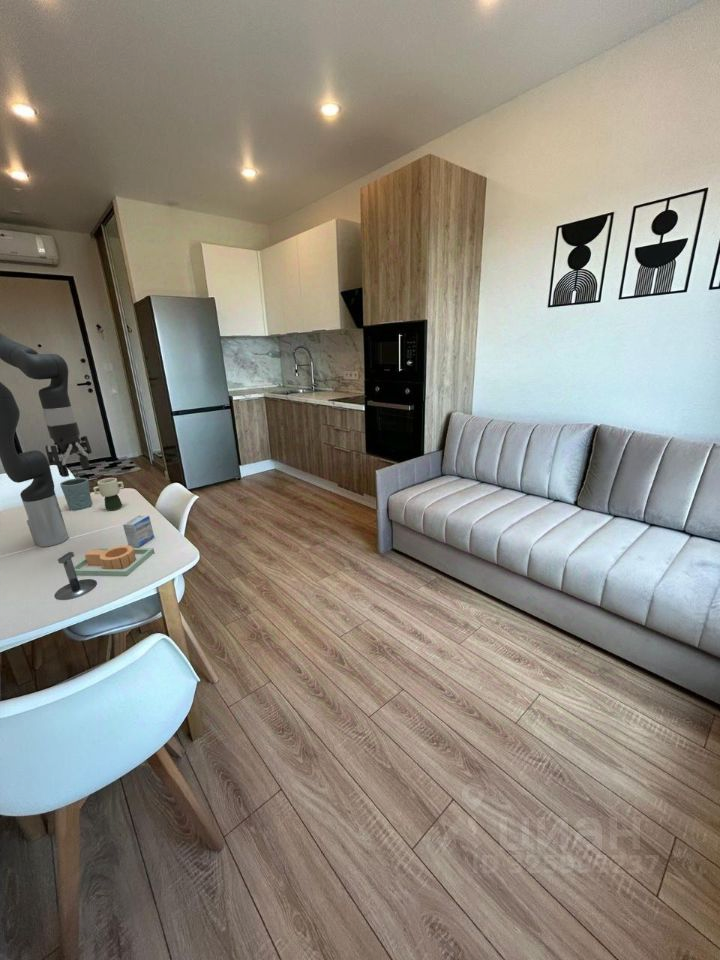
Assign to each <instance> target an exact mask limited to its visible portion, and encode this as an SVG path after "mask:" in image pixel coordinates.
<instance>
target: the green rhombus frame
mask: <svg viewBox="0 0 720 960" xmlns="http://www.w3.org/2000/svg"><path fill="white" fill-rule="evenodd" d="M111 548H112V547H98V548H97V549H96V550H108V549H111ZM133 549H134V553H135V555H136V554H137V555H138V554H139V555H141V556H139V557H138V558H136V560H135V562H133V563H132V564H131V565H130V566H128V567H126V568H124V569H103V568H102V569H101V568H83V567H84V566H86V565H88V564H87V561H86V557H85V556H84V558H83V559H81V560H79V562H76V563H75V564H73V566H74V569H75V572H76V575H77V576H101V577H103V576H104V577H105V576H107V577H109V576H110V577H113V576H114V577H128V576H129V575H131V573H132V572H134V571H135V570H136V569H137V568H138V567H140V565H142V564H143V563H144V562H145V561H146V560H148V559H149V558H150V557H151V556H152V555H155V554H156V552H155V549H154V548H153V547H133Z"/></svg>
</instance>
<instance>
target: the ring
mask: <svg viewBox="0 0 720 960" xmlns="http://www.w3.org/2000/svg"><path fill="white" fill-rule="evenodd" d="M110 548H111V549H108V550H97V549H90V551H88V552H86V553H85V554H84V558H85V557H86V561H87V564H86V565H87V566H101V568H102V569H121V570H125V569H126V568H128V567H129V566H130V565H131V564H132V563H133V562H135V561H136V560H137V558H136V554H135V553H134V549H133V548H134V547H132V546H129V545H128V544H127V545H124V544H122V545H117V546H114V547H110Z"/></svg>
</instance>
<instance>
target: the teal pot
mask: <svg viewBox="0 0 720 960" xmlns="http://www.w3.org/2000/svg"><path fill="white" fill-rule="evenodd" d="M59 485H60V488H61V490H62V493H63V494H64V498H65V500H66V503H67V507H68V510H70V511H72V512H73V511H81V510H85V509H88V508H89V507H92V506H93V500H92V496H91V492H90V490H91V489H90V483H89V479H88V477H87V478H86V477H75V478H71V479H67V480H64V481H61V482H60V483H59Z"/></svg>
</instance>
